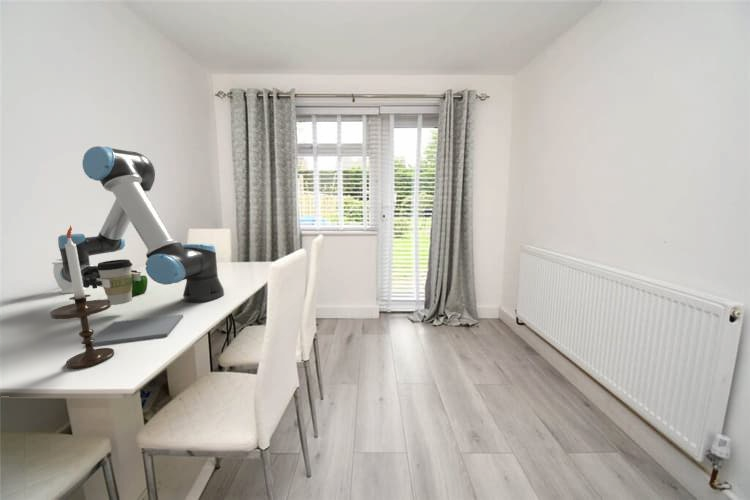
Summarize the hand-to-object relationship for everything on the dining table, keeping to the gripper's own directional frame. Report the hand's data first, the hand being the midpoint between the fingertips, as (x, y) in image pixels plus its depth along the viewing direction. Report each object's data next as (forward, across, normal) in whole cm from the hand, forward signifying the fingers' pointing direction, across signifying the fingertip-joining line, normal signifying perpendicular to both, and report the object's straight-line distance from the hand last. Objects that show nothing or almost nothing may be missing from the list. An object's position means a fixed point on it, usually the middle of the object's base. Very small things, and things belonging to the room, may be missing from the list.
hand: (124, 280), depth 104 cm
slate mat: (+17, +6, -13) cm, 23 cm away
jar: (-59, -7, -12) cm, 61 cm away
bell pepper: (-27, -16, -13) cm, 34 cm away
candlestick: (+25, +22, -14) cm, 36 cm away
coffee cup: (-5, 0, -9) cm, 10 cm away
